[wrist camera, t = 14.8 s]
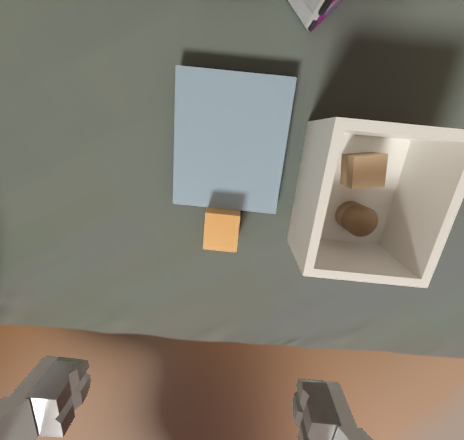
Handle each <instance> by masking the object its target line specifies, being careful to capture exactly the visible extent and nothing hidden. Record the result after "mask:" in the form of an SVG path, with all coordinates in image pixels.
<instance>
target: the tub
mask: <svg viewBox="0 0 464 440" xmlns="http://www.w3.org/2000/svg"><path fill="white" fill-rule="evenodd" d="M362 152H377V153H384V154H388V161H387V170H386V179H385V187H378V188H364V189H350V188H348V187H346V186H344V185H342V184H340V175H341V156H342V154H350V153H362ZM463 198H464V129H454V128H444V127H434V126H424V125H413V124H403V123H393V122H383V121H373V120H363V119H353V118H343V117H332V118H326V119H320V120H314V121H308V124H307V129H306V135H305V141H304V146H303V152H302V158H301V163H300V169H299V175H298V180H297V186H296V191H295V197H294V203H293V208H292V214H291V220H290V225H289V231H288V236H287V241H288V243H289V246H290V248H291V250H292V253H293V255H294V257H295V259H296V262H297V264H298V266H299V268H300V271H301V273H302V275H303V276H309V277H319V278H329V279H340V280H350V281H360V282H370V283H380V284H391V285H401V286H411V287H421V288H428V286H429V283H430V281H431V278H432V275H433V273H434V270H435V268H436V265H437V263H438V260H439V258H440V255H441V253H442V250H443V248H444V245H445V243H446V240H447V238H448V235H449V233H450V230H451V228H452V225H453V223H454V220H455V218H456V215H457V213H458V210H459V208H460V205H461V203H462V200H463ZM348 201H354V202H357V203H359V204H361V205H364V206H366V207H368V208H371V209H372V210H374V211H375V212H376V214H377V216H378V224H377V227H376V229H375V230H374V231H373V232H372V233H371V234H369V235H367V236H364V237H358V236H354V235H353V234H351V233H350V232H348V231H347V230H346V229H344V228H343V227H341V226H340V225H339V224H338V223H337V221H336V218H335V214H336V211H337V209H338V207H339V206H340V205H341V204H343V203H345V202H348Z"/></svg>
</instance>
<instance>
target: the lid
mask: <svg viewBox="0 0 464 440" xmlns="http://www.w3.org/2000/svg"><path fill="white" fill-rule="evenodd" d="M296 80H297V77H290V76H280V75H270V74H260V73H250V72H240V71H230V70H220V69H210V68H200V67H190V66H180V65H176V74H175V123H174V172H173V204H181V205H191V206H201V207H208V208H207V210H206V212H205V226H204V241H203V249H207V250H217V251H226V252H236V251H237V242H238V233H239V224H240V210H241V211H251V212H261V213H271V214H276V207H277V201H278V195H279V188H280V182H281V176H282V169H283V163H284V156H285V150H286V144H287V137H288V131H289V125H290V118H291V112H292V106H293V99H294V93H295V87H296Z"/></svg>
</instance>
